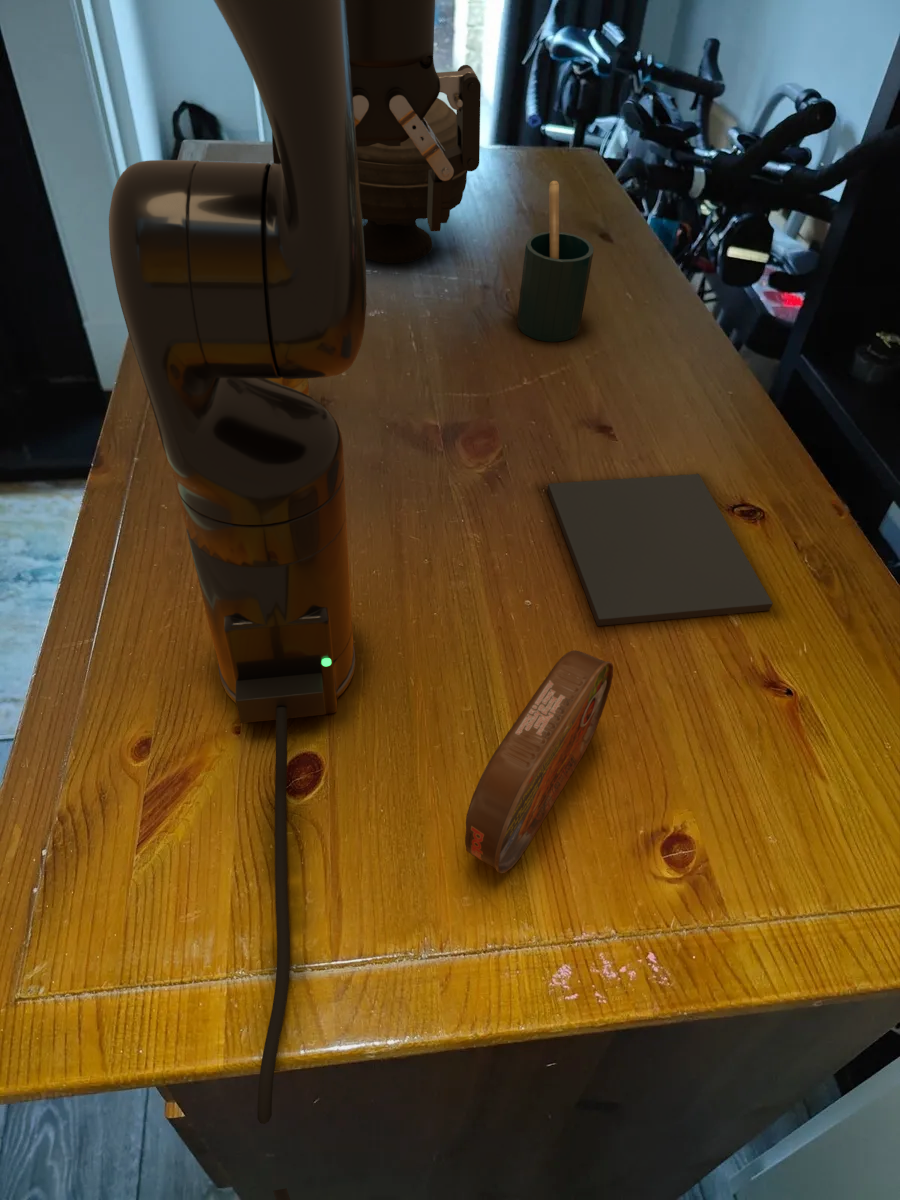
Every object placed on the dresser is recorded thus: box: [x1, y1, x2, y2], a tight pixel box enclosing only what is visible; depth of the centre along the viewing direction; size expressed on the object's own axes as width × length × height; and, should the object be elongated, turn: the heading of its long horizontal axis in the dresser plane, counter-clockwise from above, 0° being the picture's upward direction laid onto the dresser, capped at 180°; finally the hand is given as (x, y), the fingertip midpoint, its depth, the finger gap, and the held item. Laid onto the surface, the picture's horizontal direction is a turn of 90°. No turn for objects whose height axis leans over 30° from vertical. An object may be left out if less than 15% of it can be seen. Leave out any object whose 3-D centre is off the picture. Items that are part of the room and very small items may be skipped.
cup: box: [516, 231, 595, 343], centre depth 91 cm, size 7×7×9 cm
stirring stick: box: [548, 180, 560, 259], centre depth 90 cm, size 8×1×13 cm, turn 9°
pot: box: [357, 97, 468, 264], centre depth 99 cm, size 18×18×20 cm
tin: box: [464, 649, 614, 874], centre depth 51 cm, size 15×3×8 cm, turn 148°
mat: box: [546, 473, 773, 627], centre depth 70 cm, size 16×14×1 cm
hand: (377, 228), depth 63 cm, fingers open, 8 cm apart
